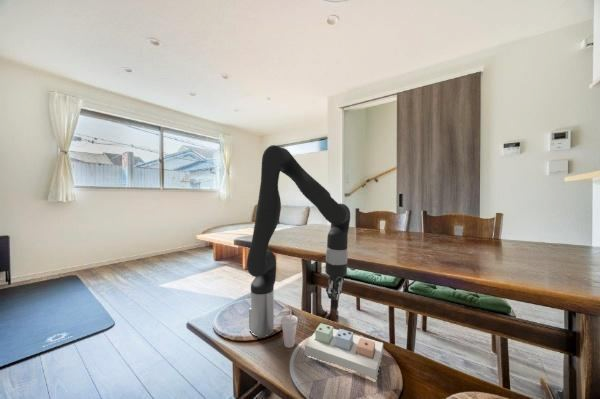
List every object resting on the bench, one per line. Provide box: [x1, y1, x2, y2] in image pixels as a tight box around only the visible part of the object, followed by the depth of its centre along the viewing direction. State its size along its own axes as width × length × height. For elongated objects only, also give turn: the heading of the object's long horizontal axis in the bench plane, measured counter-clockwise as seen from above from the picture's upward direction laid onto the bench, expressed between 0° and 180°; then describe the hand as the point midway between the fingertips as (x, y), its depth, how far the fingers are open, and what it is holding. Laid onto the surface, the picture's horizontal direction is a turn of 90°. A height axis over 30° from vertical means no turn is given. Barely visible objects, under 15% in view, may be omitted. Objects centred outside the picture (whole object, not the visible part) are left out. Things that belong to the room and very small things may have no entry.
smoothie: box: [280, 307, 299, 349], centre depth 87 cm, size 6×6×14 cm
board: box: [304, 328, 384, 380], centre depth 82 cm, size 24×14×4 cm, turn 62°
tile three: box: [335, 328, 354, 351], centre depth 81 cm, size 5×5×6 cm
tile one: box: [357, 338, 375, 359], centre depth 78 cm, size 5×5×6 cm
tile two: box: [314, 322, 334, 344], centre depth 85 cm, size 5×5×6 cm
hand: (334, 308), depth 83 cm, fingers closed
